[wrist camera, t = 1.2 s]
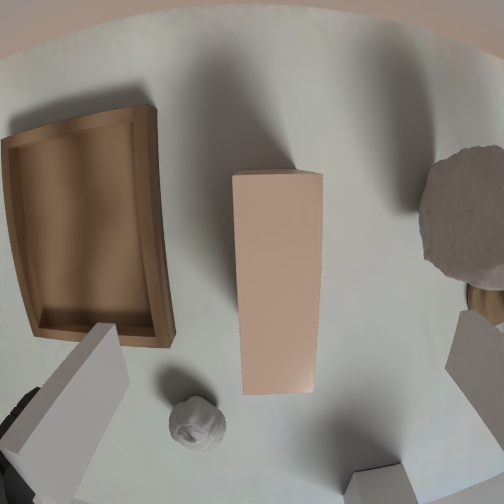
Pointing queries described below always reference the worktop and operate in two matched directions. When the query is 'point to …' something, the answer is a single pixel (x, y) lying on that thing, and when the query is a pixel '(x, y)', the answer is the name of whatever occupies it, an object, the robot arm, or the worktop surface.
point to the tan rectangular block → (278, 277)
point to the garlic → (197, 424)
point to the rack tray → (90, 227)
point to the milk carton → (380, 487)
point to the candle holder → (487, 303)
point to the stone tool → (466, 217)
